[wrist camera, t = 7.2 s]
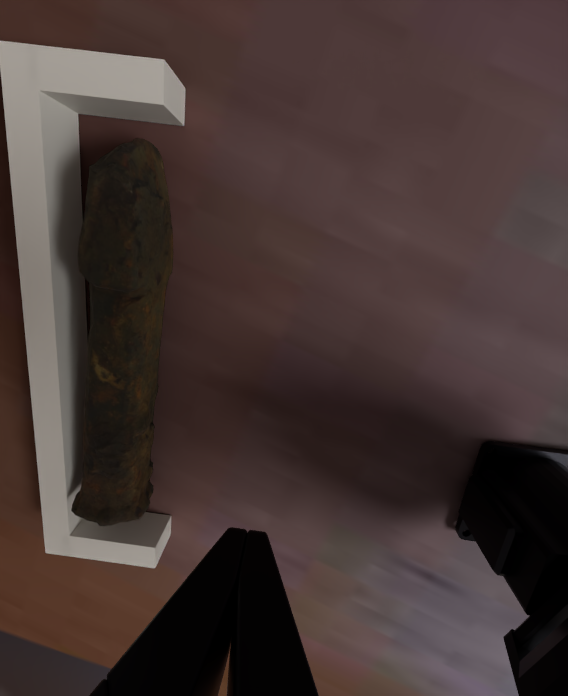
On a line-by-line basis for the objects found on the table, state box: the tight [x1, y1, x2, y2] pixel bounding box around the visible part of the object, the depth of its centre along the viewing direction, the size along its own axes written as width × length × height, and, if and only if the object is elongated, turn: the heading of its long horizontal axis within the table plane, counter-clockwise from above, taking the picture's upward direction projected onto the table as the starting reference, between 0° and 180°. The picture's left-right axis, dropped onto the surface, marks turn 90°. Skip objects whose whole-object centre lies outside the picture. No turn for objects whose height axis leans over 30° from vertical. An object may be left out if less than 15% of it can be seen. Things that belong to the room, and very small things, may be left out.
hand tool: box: [71, 138, 173, 526], centre depth 17 cm, size 19×4×5 cm, turn 166°
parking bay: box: [0, 41, 186, 568], centre depth 18 cm, size 6×25×2 cm, turn 173°
